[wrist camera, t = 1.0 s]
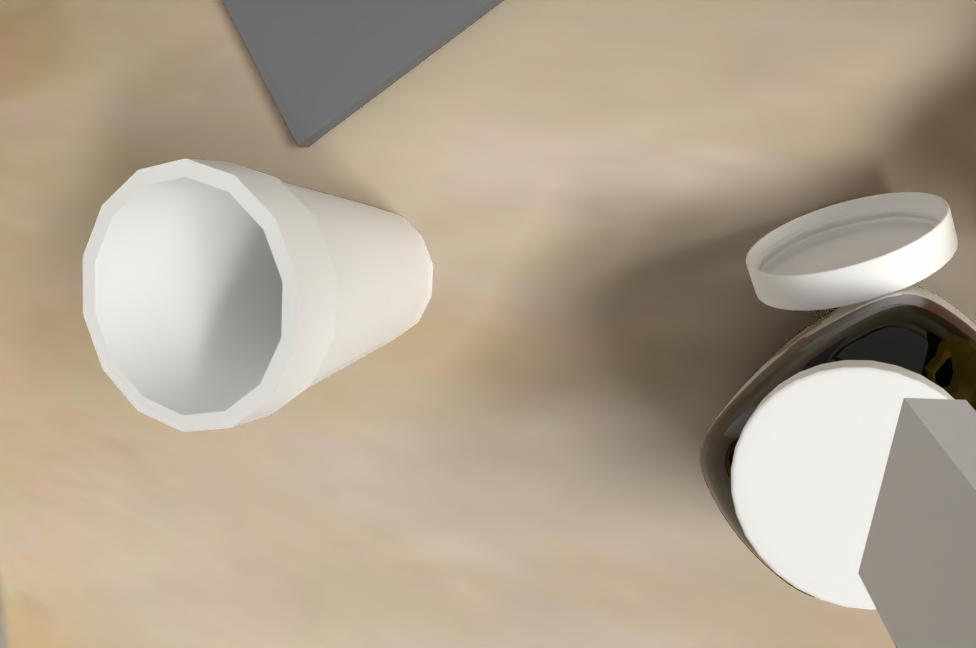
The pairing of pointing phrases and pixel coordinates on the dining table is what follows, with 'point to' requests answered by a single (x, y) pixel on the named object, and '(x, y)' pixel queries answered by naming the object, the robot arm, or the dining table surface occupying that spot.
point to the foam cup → (241, 289)
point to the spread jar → (837, 384)
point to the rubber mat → (342, 50)
